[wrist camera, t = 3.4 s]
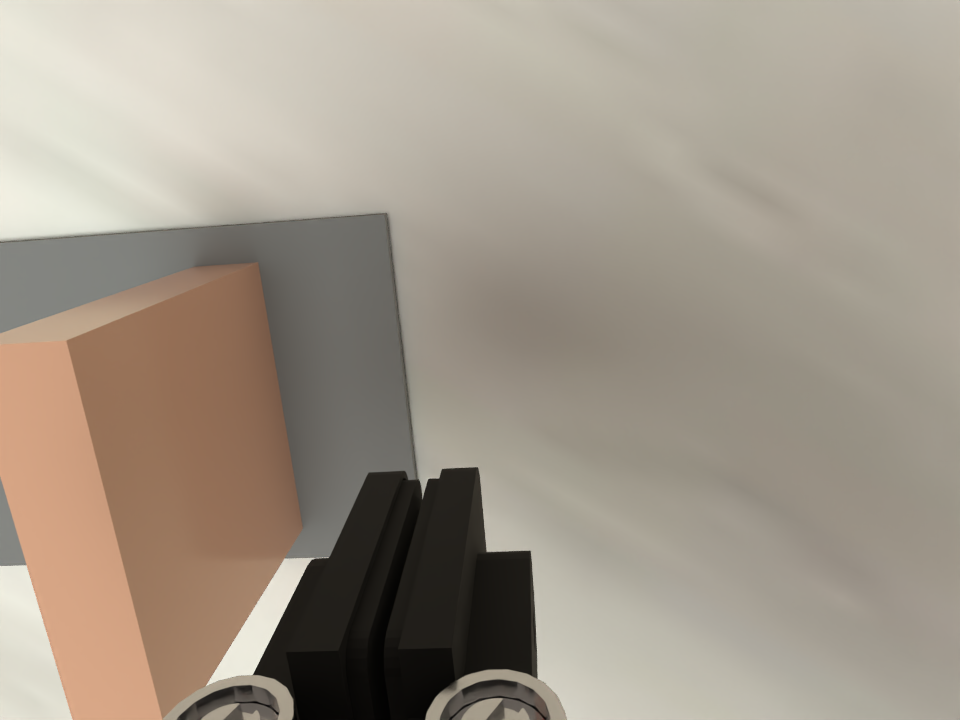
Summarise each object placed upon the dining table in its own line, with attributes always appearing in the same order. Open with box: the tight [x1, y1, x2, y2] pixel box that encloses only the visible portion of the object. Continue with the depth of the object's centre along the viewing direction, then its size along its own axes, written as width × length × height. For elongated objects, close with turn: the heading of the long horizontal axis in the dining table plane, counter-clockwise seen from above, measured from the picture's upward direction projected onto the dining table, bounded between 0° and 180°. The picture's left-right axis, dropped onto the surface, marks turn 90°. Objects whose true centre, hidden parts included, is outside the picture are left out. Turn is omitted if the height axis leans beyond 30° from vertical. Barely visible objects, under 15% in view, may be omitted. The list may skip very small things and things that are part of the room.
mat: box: [0, 214, 417, 566], centre depth 20 cm, size 10×14×1 cm
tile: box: [0, 262, 303, 720], centre depth 16 cm, size 8×2×8 cm, turn 5°
